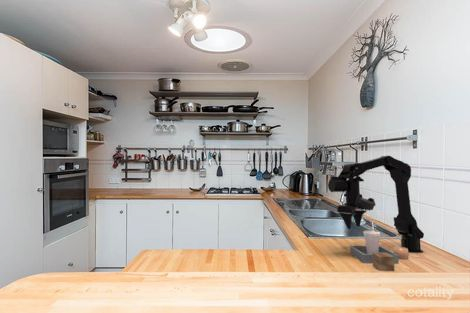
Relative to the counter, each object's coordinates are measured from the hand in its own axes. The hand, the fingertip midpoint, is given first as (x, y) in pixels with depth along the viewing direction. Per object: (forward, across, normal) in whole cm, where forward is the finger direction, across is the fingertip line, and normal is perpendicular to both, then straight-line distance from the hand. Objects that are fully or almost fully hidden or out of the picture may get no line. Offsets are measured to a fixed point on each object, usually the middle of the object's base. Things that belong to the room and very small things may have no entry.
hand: (354, 227), depth 110 cm
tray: (+11, 0, -7) cm, 13 cm away
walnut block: (+11, -10, -14) cm, 21 cm away
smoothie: (+11, 0, -7) cm, 13 cm away
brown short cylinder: (+11, +9, -15) cm, 21 cm away
